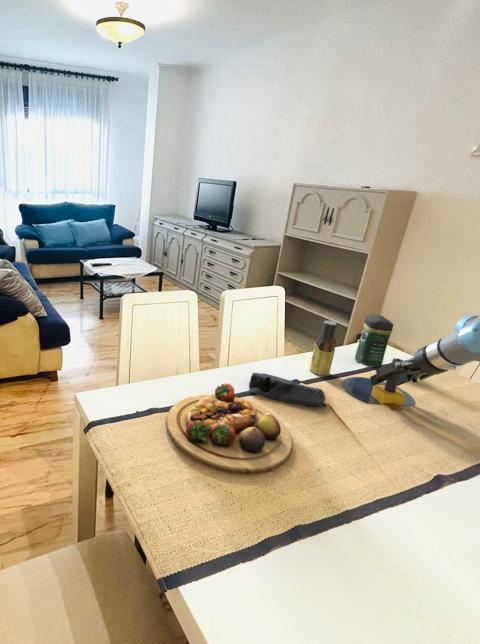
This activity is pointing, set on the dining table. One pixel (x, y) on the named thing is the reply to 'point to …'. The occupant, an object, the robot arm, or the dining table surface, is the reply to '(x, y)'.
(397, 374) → the robot arm
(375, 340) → the coffee jar
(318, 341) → the sauce bottle
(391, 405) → the crust
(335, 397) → the dining table surface
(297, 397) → the dark folded cloth
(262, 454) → the wooden plate
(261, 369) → the dining table surface
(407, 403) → the plate
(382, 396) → the sponge wand
